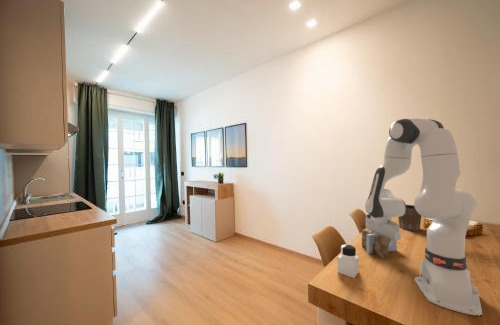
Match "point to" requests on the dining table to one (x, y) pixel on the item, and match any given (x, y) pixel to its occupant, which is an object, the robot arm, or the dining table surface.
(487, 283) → the dining table surface
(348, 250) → the medicine bottle
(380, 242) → the walnut board
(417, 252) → the dining table surface
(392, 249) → the light blue notched panel
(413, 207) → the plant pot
